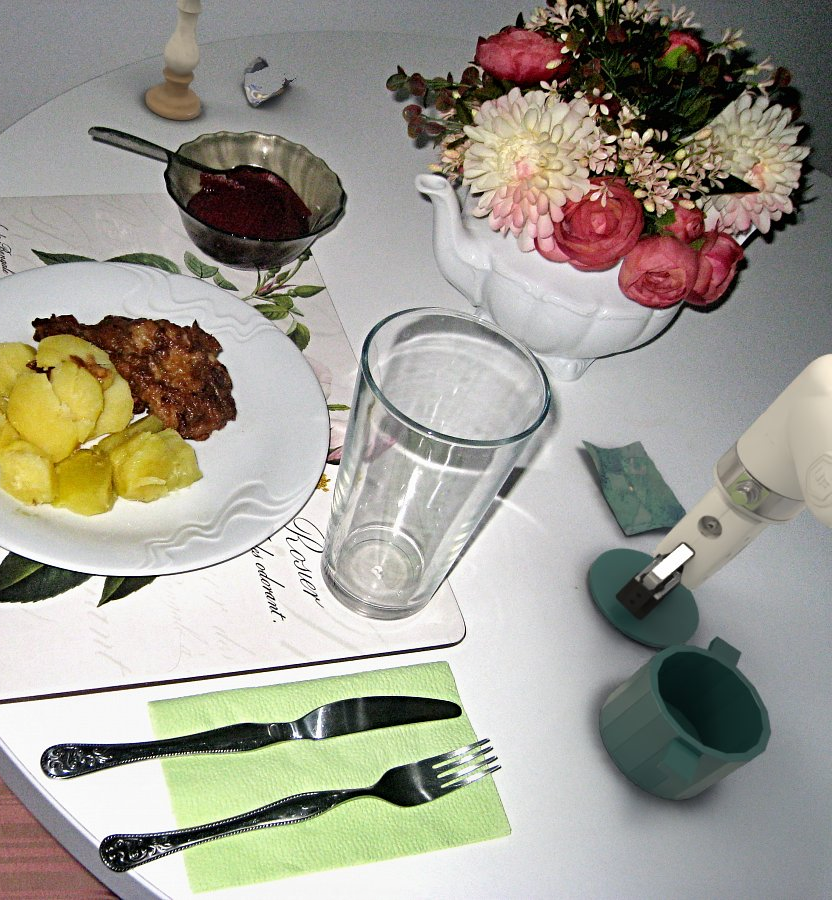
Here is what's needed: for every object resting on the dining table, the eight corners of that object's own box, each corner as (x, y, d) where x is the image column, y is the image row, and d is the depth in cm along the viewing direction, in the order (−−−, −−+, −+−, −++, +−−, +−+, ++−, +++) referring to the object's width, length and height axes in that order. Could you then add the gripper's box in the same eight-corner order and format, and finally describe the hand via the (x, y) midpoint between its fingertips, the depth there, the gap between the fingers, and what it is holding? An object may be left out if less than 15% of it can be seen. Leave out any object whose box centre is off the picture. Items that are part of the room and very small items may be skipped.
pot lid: (705, 601, 94) (745, 565, 89) (672, 673, 87) (714, 639, 82) (608, 536, 97) (641, 498, 92) (569, 600, 90) (603, 563, 85)
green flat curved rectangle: (685, 534, 99) (694, 524, 98) (623, 538, 97) (632, 527, 96) (632, 447, 107) (640, 436, 106) (575, 449, 105) (582, 438, 104)
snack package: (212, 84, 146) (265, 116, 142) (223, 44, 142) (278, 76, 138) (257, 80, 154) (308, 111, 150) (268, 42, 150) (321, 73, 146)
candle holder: (178, 87, 142) (201, -48, 128) (212, 115, 139) (239, -20, 124) (133, 96, 138) (151, -43, 123) (167, 125, 134) (190, -14, 119)
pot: (730, 719, 84) (789, 677, 78) (680, 850, 75) (744, 814, 68) (631, 649, 87) (681, 604, 81) (571, 766, 78) (622, 725, 71)
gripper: (753, 551, 71) (637, 655, 83) (846, 473, 80) (729, 578, 92) (676, 485, 74) (576, 595, 87) (774, 418, 83) (670, 526, 96)
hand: (655, 586), depth 89 cm, fingers open, 9 cm apart
